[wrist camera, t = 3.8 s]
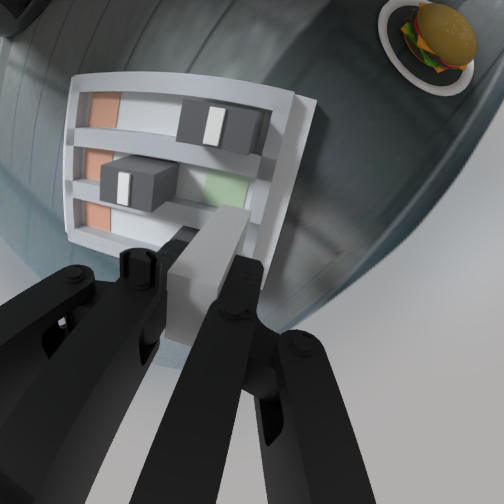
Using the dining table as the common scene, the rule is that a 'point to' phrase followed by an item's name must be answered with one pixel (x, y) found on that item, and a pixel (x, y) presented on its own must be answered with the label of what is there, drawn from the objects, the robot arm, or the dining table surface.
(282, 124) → the panel
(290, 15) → the dining table surface
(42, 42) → the dining table surface
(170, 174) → the breaker mid
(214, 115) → the breaker near
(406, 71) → the hamburger
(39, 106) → the dining table surface
